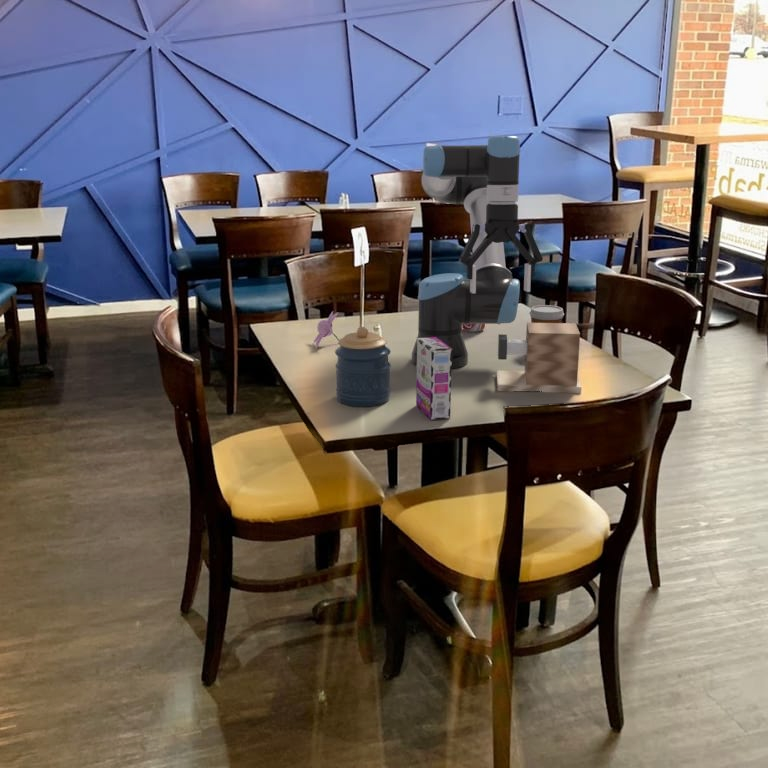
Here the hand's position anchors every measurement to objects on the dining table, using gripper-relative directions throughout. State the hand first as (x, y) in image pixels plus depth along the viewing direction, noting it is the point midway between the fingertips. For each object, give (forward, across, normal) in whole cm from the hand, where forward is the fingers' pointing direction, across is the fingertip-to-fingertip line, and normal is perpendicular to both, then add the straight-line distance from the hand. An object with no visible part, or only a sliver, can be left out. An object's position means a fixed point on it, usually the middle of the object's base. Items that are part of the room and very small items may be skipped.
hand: (500, 291), depth 223 cm
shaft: (+16, +7, -2) cm, 18 cm away
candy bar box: (+25, -20, -18) cm, 36 cm away
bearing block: (+23, +10, -2) cm, 25 cm away
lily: (+21, -39, +44) cm, 62 cm away
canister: (+24, -35, -6) cm, 42 cm away
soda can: (+20, +7, +52) cm, 56 cm away
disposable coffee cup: (+21, +21, +27) cm, 40 cm away
